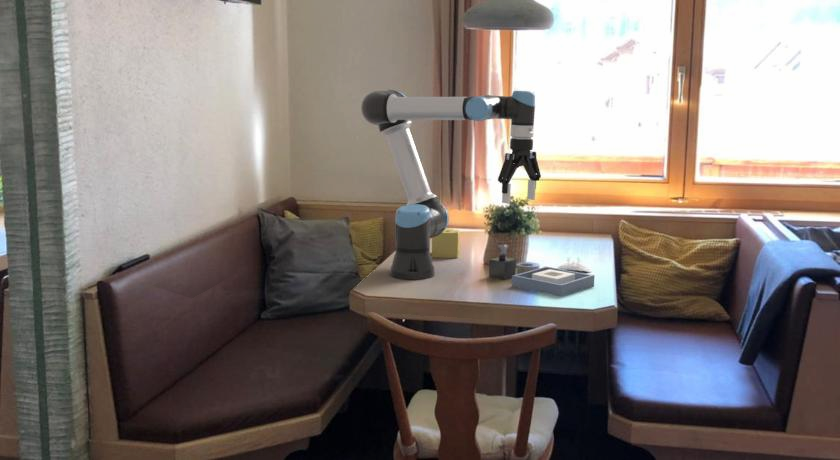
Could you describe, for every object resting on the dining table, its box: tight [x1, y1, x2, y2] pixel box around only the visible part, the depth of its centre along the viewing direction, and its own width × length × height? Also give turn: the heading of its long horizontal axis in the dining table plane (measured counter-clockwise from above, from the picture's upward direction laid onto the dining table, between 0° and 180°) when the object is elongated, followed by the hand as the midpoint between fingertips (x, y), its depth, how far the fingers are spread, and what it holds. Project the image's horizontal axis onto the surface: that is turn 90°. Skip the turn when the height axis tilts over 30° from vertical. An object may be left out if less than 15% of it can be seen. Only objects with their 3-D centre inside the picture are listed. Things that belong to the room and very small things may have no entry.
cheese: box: [431, 227, 461, 259], centre depth 326 cm, size 10×11×10 cm
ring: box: [532, 269, 575, 284], centre depth 280 cm, size 10×12×3 cm
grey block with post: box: [488, 243, 517, 281], centre depth 292 cm, size 6×6×11 cm
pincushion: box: [557, 256, 592, 273], centre depth 301 cm, size 12×6×6 cm, turn 73°
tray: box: [511, 266, 596, 297], centre depth 280 cm, size 19×19×4 cm
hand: (518, 201), depth 290 cm, fingers open, 13 cm apart
